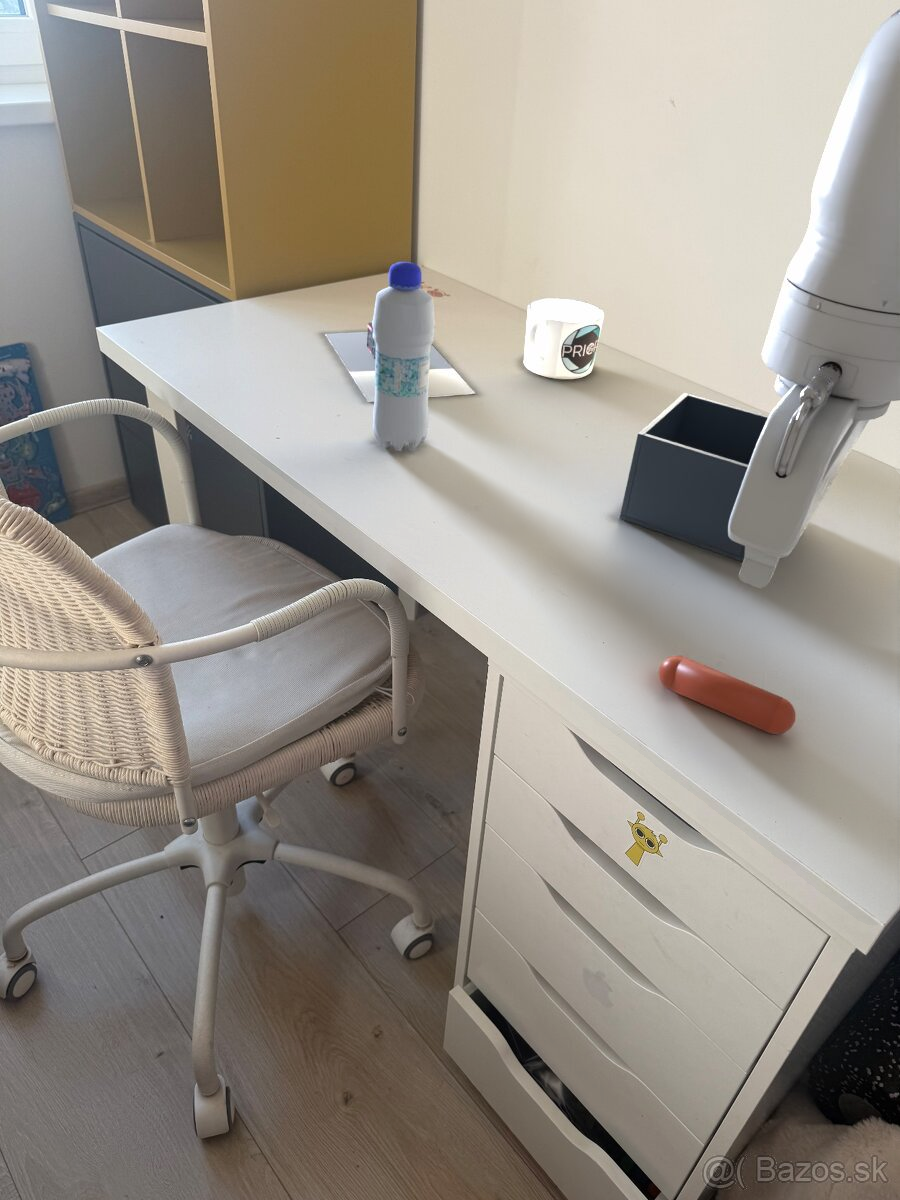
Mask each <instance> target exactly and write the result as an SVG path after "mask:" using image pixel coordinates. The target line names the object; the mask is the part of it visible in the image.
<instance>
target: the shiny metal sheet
mask: <svg viewBox="0 0 900 1200" xmlns="http://www.w3.org/2000/svg"><path fill="white" fill-rule="evenodd" d="M324 335H325V336H326V338H327V340H328V341H329V343H330V345H331V346H332V347H333V349H334V351H335V352H336V354H337V355H338V357H339V359H340V360H341V362H342V364H343V365H344V366H345V368H346V370H347V371H348V372H349V374H350V376H351V377H352V379H353V381H354V382H355V384H356V385H357V387H358V388H359V390H360V392H361V393H362V395H363V396H364V398H365V399H366V401H367V402H368V403H374V401H375V360H376V343H375V341H374V339H373V327H372V321H371V322H367V331H354V332H350V331H349V332H333V333H325V334H324ZM475 394H476V392H475V391H474V390H473V389H472V387H470V386H469V384H468V383H467V382H466V380H464V378H462V376H461V375H460V374H459V373H458V372H457V370H455V368H454V367H453V366H452V365H451V364H450V363H449V361H447V360H446V358H445V357H444V356H443V355H442V354H441V353H440V351H439V350H438V349H436V347H435V346H434V345H433V343H432V344H431V347H430V365H429V384H428V398H439V397H450V396H451V397H452V396H464V395H475Z"/></svg>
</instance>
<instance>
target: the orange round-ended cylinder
mask: <svg viewBox="0 0 900 1200" xmlns="http://www.w3.org/2000/svg"><path fill="white" fill-rule="evenodd" d="M658 677H659V678H658V679H659V680H660V683H661V685H663V686H664V687H665V688H666V689H668V690H669V691H672V692H674V693H676V694H678V695H681V696H683V697H686V698H687V699H690V700H692V701H694V702H696V703H699V704H701V705H704V706H705V707H708V708H710V709H712V710H715V711H716V712H717V711H718V712H720V713H722V714H724V715H727V716H729V717H731V718H734V719H736V720H738V721H741V722H743V723H745V724H747V725H749V726H752V727H754V728H757V729H759V730H761V731H764V732H766V733H769V734H772V735H781V734H784V733H787V732H788V731H789V730H790V729H792V728H793V727H794V725H795V722H796V718H797V717H796V716H797V715H796V710H795V707H794V705H793V704H792V703H791V702H790V701H789V700H788V699H786V698H784V697H782V696H780V695H778V694H776V693H773V692H770V691H768V690H765V689H764V688H761V687H759V686H756V685H753V684H751V683H748V682H746V681H745V680H741V679H740V678H737V677H734V676H732V675H730V674H727V673H725V672H722V671H720V670H718V669H715V668H712V667H710V666H707V665H705V664H703V663H701V662H698V661H696V660H693V659H690V658H689V657H686V656H683V655H678V654H677V655H671V656H669V657H666V659H664V660H663V661H662V662H661V663H660V665H659V667H658Z"/></svg>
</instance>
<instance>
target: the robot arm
mask: <svg viewBox="0 0 900 1200" xmlns="http://www.w3.org/2000/svg"><path fill="white" fill-rule="evenodd" d="M761 358H762V361H763V363H764V364H765V365H766V367H767V368H768V369H770V370H771V371H772V372H773V373H775V374H777V377H776V380H775V383H774V390H775V391H776V393H777V395H779V397H781V399H780V401H779V402H778V403H777V405H776V406H775V407H774V408H772V411H771V412H770V414H769V415H768V416H769V417H768V419H767V421H766V423H765V426H764V428H763V430H762V432H761V434H760V437H759V439H758V441H757V444H756V446H755V449H754V452H753V454H752V457H751V460H750V462H749V465H748V468H747V471H746V473H745V476H744V479H743V482H742V484H741V487H740V490H739V493H738V496H737V499H736V501H735V504H734V507H733V510H732V513H731V516H730V519H729V524H728V536H729V538H730V539H731V540H732V541H734V542H737V543H739V544H741V545H744V546H745V558H744V561H743V562H742V563H741V567H740V569H739V573H738V578H739V579H738V580H740V582H742V583H744V584H747V585H749V586H752V587H754V588H757V589H764V588H766V587H768V586H769V583H770V582H771V580H772V578H773V576H774V574H775V571H776V568H777V566H778V563H779V562H780V558H786V557H788V556H789V555H791V554H792V552H793V551H794V549H795V547H796V546H797V544H798V543H799V541H800V539H801V537H802V536H803V534H804V532H805V531H806V529H807V527H808V526H809V524H810V522H811V520H812V518H813V516H814V515H815V513H816V512H817V509H818V508H819V506H820V504H821V502H823V499H824V497H825V496H826V494H827V493H828V490H829V489H830V487H831V485H832V484H833V482H834V480H835V478H836V477H837V475H838V473H839V472H840V470H841V468H842V466H843V465H844V463H845V461H846V459H847V458H848V456H849V454H850V452H851V451H852V449H853V447H854V445H856V442H857V440H858V439H859V438H860V436H861V435H862V433H863V431H864V429H865V428H866V426H867V424H868V423H869V422H870V421H871V420H876V419H878V418H880V417H881V418H882V417H883V416H884V415H886V413H887V412H888V410H889V407H890V405H891V402H897V401H898V402H899V401H900V8H899V9H898V10H896V11H895V12H894V13H892V14H891V15H890V16H889V17H888V18H886V20H885V21H883V22H882V23H881V24H880V25H879V27H878V28H877V30H876V31H875V32H874V34H873V35H872V36H871V38H870V40H869V41H868V44H867V45H866V48H865V49H864V51H863V53H862V55H861V57H860V59H859V61H858V63H857V66H856V68H855V70H854V72H853V74H852V77H851V79H850V81H849V83H848V86H847V88H846V91H845V94H844V96H843V98H842V101H841V104H840V106H839V109H838V112H837V114H836V117H835V120H834V123H833V124H832V128H831V130H830V134H829V137H828V140H827V142H826V145H825V148H824V152H823V154H822V158H821V161H820V163H819V166H818V170H817V173H816V176H815V179H814V182H813V187H812V191H811V213H810V220H809V224H808V228H807V231H806V234H805V236H804V238H803V241H802V243H801V245H800V247H799V248H798V250H797V252H796V253H795V255H794V256H793V258H792V259H791V261H790V263H789V265H788V268H787V271H786V274H785V277H784V280H783V283H782V287H781V290H780V293H779V296H778V299H777V302H776V306H775V310H774V313H773V317H772V319H771V323H770V326H769V329H768V332H767V335H766V338H765V342H764V346H763V348H762V351H761Z"/></svg>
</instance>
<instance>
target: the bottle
mask: <svg viewBox="0 0 900 1200" xmlns="http://www.w3.org/2000/svg"><path fill="white" fill-rule="evenodd" d="M422 274H423V273H422V270H421V268H420V266H419V265H418V264H416V263H414V262H409V261H398V262H395V263H392V265H390V267H389V270H388V287H385V288H383V289H381V290H379V291H378V292H376V295H375V303H374V310H373V317H372V321H371V322H372V327H373V339H374V341H375V343H376V360H375V401H374V402H373V412H372V414H373V415H372V427H373V433H374V436H375V438H376V440H377V441H378V442H379V444H380V445H381V447H383V448H385V449H388V448H389V447H390V446H391V443H392V444H393V446H394V449H395V451H397V452H401V451H403V449H404V446H405V444H408V448H409V449H410V450H415V449H417V448H419V446H420V444H423V442H425V440H426V439H427V435H428V431H429V397H428V384H429V365H430V347H431V344H432V345H433V343H434V341H435V336H434V333H435V330H436V323H435V311H434V310H435V309H434V298H433V296H432V295H431V293H430V292H428V291H426V290H424V289H422V278H423V277H422Z"/></svg>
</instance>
